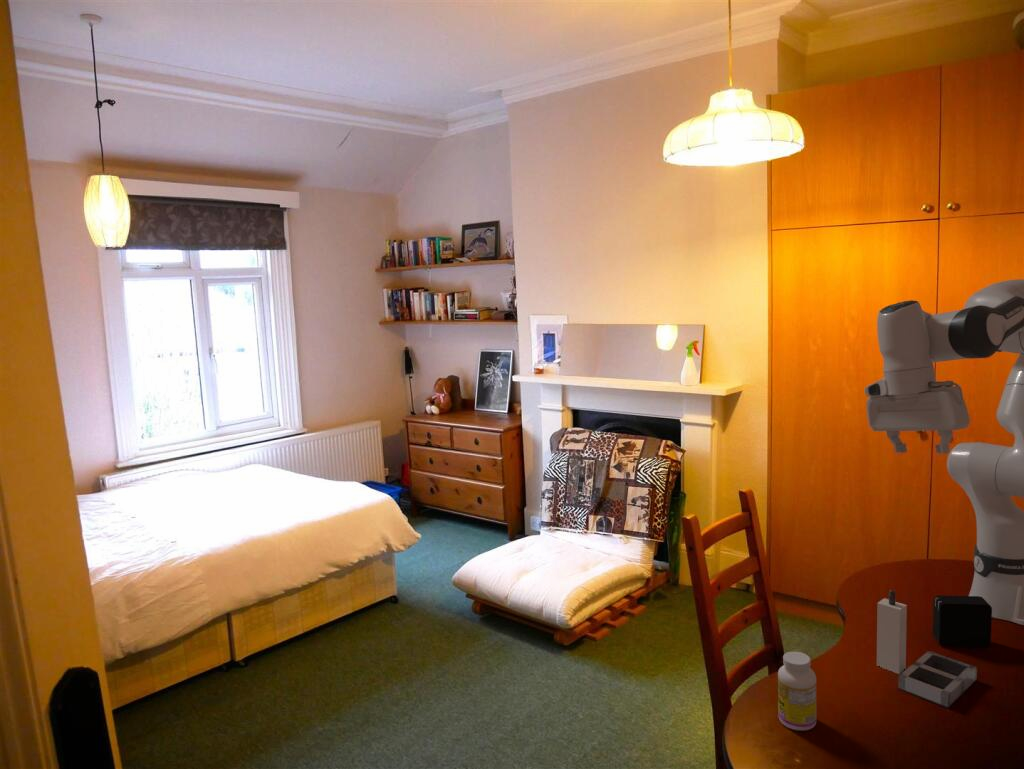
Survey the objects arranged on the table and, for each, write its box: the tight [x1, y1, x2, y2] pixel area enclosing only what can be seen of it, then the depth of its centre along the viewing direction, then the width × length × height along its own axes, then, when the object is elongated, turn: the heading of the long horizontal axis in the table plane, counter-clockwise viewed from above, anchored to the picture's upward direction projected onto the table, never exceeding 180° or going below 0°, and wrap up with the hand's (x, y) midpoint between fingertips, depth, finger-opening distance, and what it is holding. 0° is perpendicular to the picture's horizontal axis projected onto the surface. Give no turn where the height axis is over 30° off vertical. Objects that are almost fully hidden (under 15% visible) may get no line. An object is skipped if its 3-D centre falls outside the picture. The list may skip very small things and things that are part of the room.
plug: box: [876, 589, 908, 675], centre depth 151 cm, size 4×3×17 cm, turn 38°
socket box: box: [897, 650, 978, 709], centre depth 145 cm, size 9×14×3 cm, turn 128°
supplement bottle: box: [777, 651, 817, 732], centre depth 136 cm, size 7×7×13 cm
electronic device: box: [932, 594, 993, 650], centre depth 159 cm, size 4×10×10 cm, turn 79°
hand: (921, 453), depth 144 cm, fingers open, 8 cm apart
